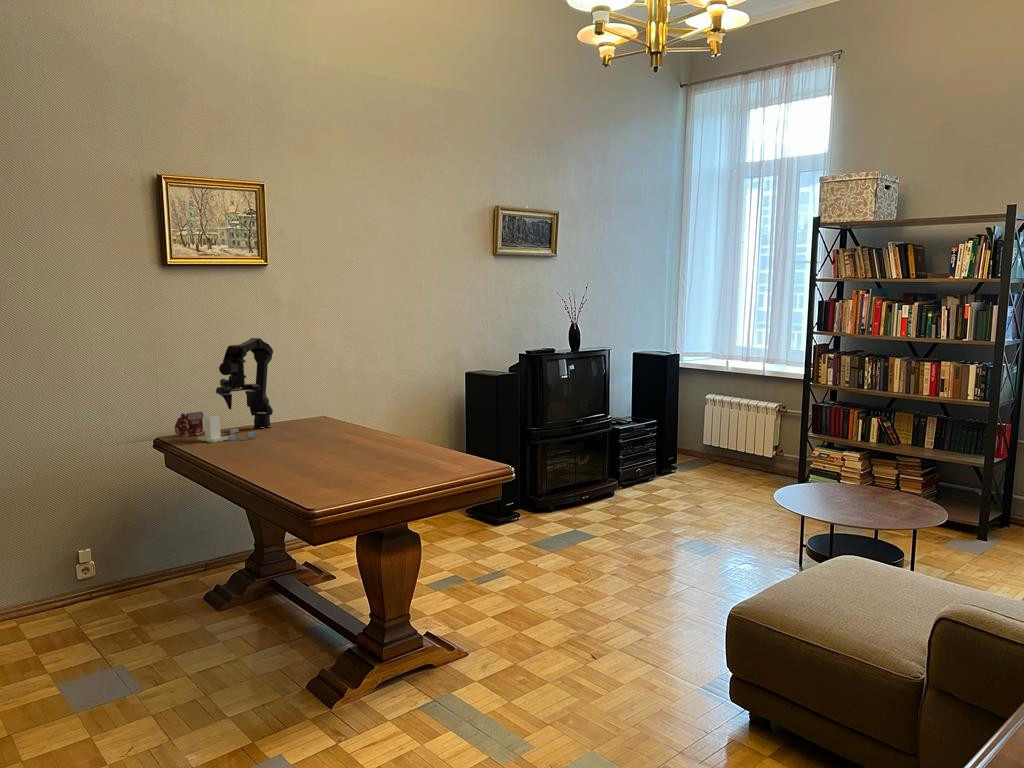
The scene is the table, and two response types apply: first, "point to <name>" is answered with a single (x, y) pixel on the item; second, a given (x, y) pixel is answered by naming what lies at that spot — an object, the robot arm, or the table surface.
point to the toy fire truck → (189, 423)
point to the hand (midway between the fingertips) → (239, 407)
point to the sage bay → (213, 439)
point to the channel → (249, 436)
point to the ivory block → (212, 427)
